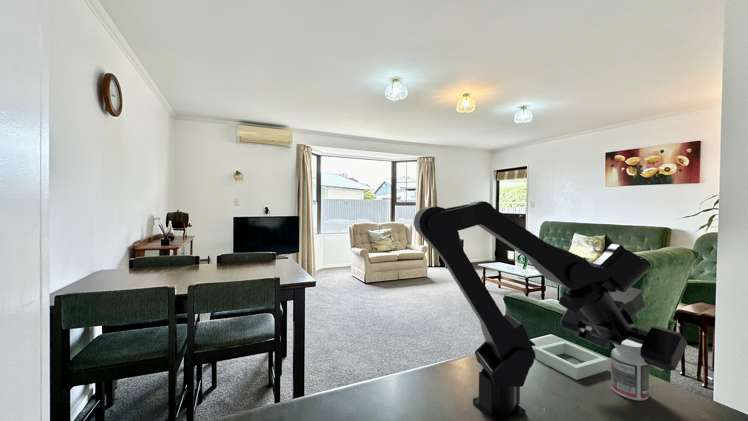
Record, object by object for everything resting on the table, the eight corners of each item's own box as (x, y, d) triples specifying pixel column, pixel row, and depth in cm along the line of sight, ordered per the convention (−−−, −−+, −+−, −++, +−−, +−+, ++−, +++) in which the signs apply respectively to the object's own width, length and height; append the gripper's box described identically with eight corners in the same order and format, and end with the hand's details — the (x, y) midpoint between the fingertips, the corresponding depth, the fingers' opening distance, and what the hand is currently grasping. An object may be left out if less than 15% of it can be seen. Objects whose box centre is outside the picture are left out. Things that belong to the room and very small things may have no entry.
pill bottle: (634, 385, 63) (635, 336, 63) (657, 402, 58) (657, 348, 58) (604, 383, 64) (604, 335, 64) (623, 400, 58) (624, 347, 58)
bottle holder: (576, 380, 65) (576, 368, 65) (534, 358, 75) (534, 347, 75) (607, 370, 69) (607, 359, 69) (563, 350, 79) (563, 340, 78)
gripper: (682, 285, 50) (715, 342, 55) (570, 265, 68) (602, 310, 72) (653, 341, 47) (690, 397, 52) (543, 306, 65) (579, 350, 69)
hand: (633, 357), depth 61 cm, fingers open, 9 cm apart
